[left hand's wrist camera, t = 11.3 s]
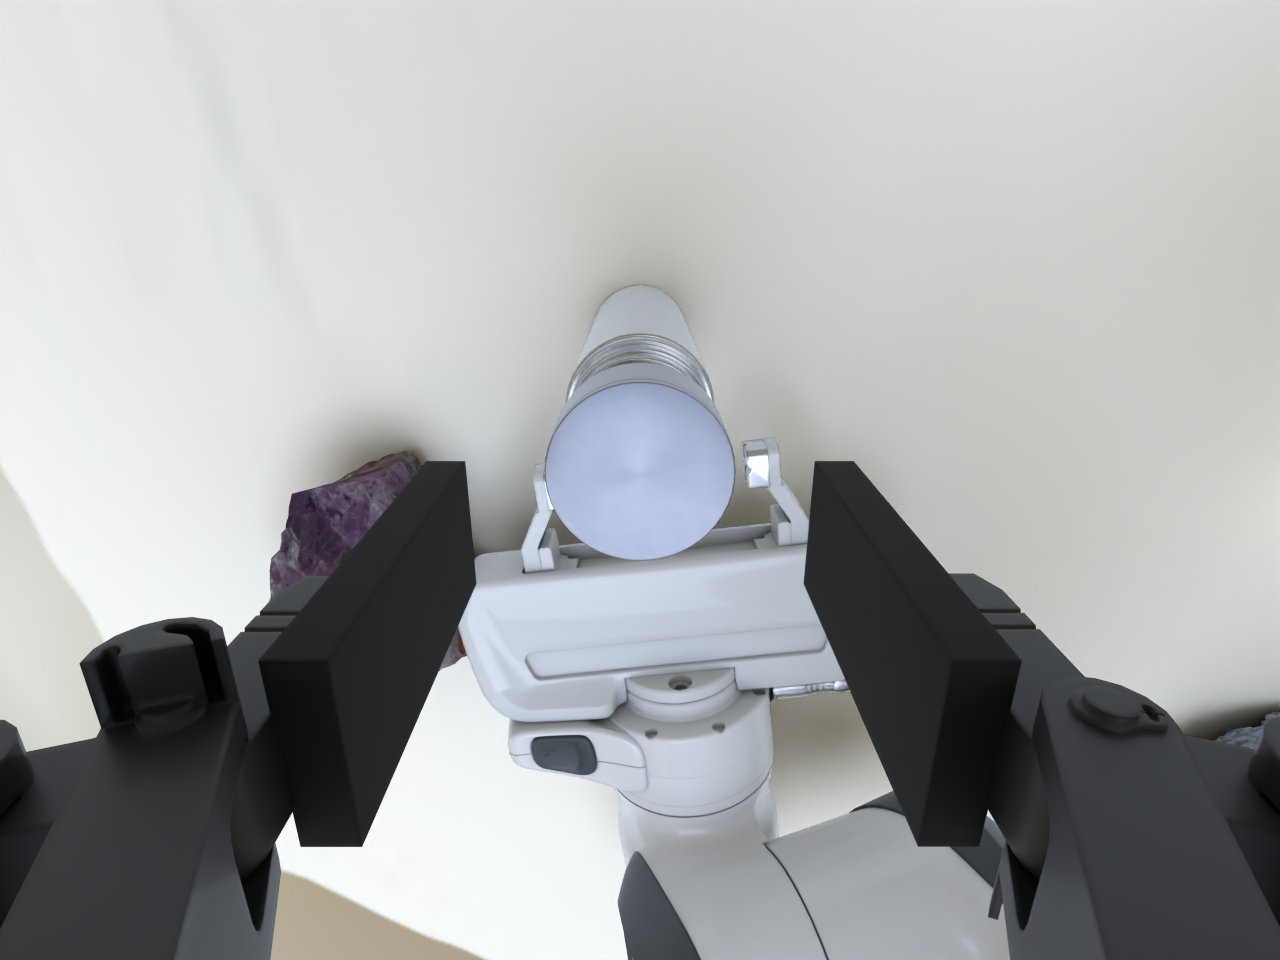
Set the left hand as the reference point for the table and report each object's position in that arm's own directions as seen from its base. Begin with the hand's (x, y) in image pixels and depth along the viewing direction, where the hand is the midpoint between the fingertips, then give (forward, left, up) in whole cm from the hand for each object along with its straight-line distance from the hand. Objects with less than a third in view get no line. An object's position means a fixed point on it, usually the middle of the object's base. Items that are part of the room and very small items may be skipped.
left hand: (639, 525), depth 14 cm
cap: (0, 0, -3) cm, 3 cm away
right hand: (+4, -2, -17) cm, 18 cm away
